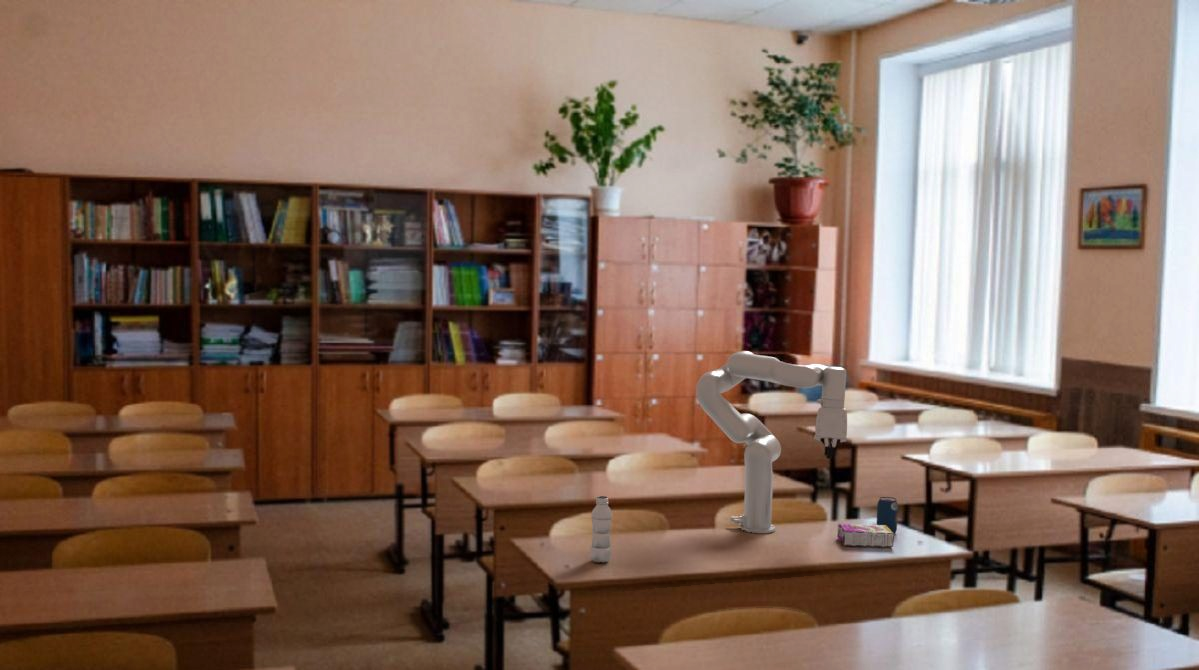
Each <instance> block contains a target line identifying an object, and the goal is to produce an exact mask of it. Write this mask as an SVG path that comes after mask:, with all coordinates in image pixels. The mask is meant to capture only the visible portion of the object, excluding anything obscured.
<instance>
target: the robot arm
mask: <svg viewBox="0 0 1199 670" xmlns="http://www.w3.org/2000/svg"><path fill="white" fill-rule="evenodd" d="M746 379H750V380H751V379H752V380H758V381H762V382H763V381H764V382H769V383H773V384H778V385H783V386H786V387H792V388H798V389H799V388H800V389H811V388H812V389H813V388H815V387H819V386H822V387H821V388H822V389H821V398H819V399H816V404H819V405H820V406H819V407H818V408H817V409H818V410H817V414H816V419H815V420H816V421H815V428H814V436H813V439H814V440H816V441H819V442H821V443H822V444H823V446H824V456H825V458H826V459H830V460H832V459H833V457H834V456H835V448H836V447H837V446H838V444H840V443H846V442H847V441H848V440H847V435H848V411H847V409H846V408H845V400H846V399H845V398H846V385H847V384H846V383H847V370H846V369H845V368H844V367H840V366H826V365H823V364H820V363H819V364H817V363H810V364H806V365H800V364H794V363H793V364H792V363H788V362H787V363H786V362H784V361H780V360H779V358H777V357H773V356H768V355H762V354H761V355H760V354H754V353H753V352H751V351H748V350H741V351H737V352H734V353H732V354H731V355H729V357H728V359H727V360H726V363H725V364H724V365H722V366H721V367H719V368H718V369H715V370H711V371H707V372H705V373H704V374H702V375H701V376H700V378H699V379H698V381H697V383H696V388H695V395H696V396H695V397H696V400H697V402H698V404H699V407H701V409H702V410H703V411H704V412H705V413H706V414H707V415H708V416H709V418H711V420H712V421H713V422H714V423H715V424H716V425H717V427H718V428H719V429H721V431H722V432H723V433H724V434H725V435H726V436H727V437H728V438H729V440H731V441H732V442H733V443H735V444H743V443H745V444H746V445H747V446H746V447H745V450H744V454H743V455H744V456H743V459H744V471H745V472H744V473H745V474H744V503H743V506H744V507H743V513H742V514H741V515H739V516H736V515H735V516H733V515H732V516H730V518H729V519H730V521H729V522H730V523H734V524H738V529H739V528H741V529H743V530H745V531H744V532H746V531H747V532H746V533H750V532H752V533H751V534H771V533H774V532H775V531H776V526H775V525H774V524H772V509H773V486H774V485H773V484H774V474H773V462H775V461H776V460H778V458H780V455H781V453H782V446H781V444H780V441H779V439H777V438H776V436H775V435H774V434H773V433H772V432H771V431H770V429H768V428H767V426H765V424H763V422H762V421H761V420H759V418H757V417H756V416H755V415H753V414H751V413H745V412H744V413H740V412H739V411H738V410H737V409H736V408H735V407H734V406H733V404H732V403H731V402H729V401H728V400H727V399H725V398H724V397H723V395H722V394H723V393H727V392H729V391H730V390H731V389H733V388H734V387H736V386H737V385H738V384H739V383H741V382H743V381H744V380H746ZM829 439H831V443H829ZM741 529H740V530H741ZM743 530H742V531H743Z"/></svg>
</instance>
